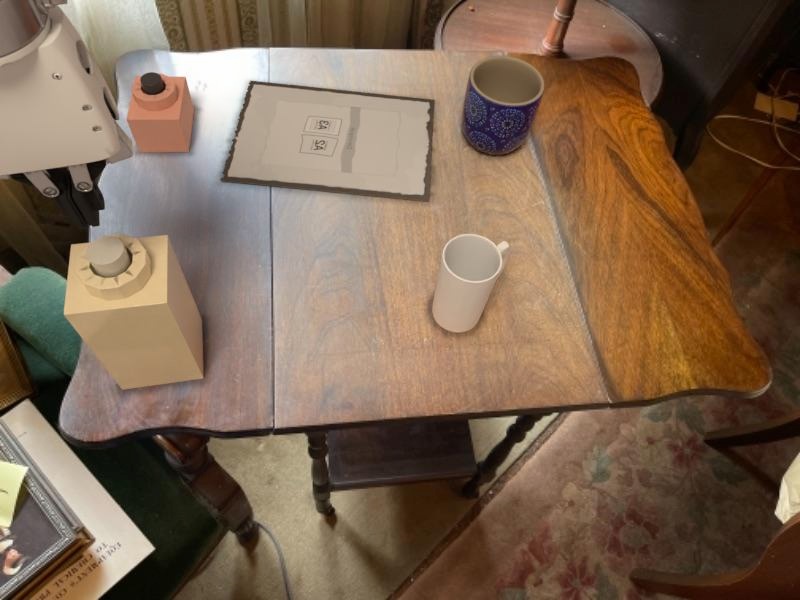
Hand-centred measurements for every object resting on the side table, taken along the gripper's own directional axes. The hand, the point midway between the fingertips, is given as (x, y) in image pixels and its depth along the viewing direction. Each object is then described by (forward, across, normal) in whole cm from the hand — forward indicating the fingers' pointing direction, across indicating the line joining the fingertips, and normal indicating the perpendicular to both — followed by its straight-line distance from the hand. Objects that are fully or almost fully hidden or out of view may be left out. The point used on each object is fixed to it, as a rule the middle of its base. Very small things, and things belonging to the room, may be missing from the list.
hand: (89, 214), depth 50 cm
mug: (+26, -37, +2) cm, 45 cm away
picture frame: (+26, -27, -31) cm, 48 cm away
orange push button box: (+26, -3, -37) cm, 45 cm away
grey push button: (+7, 0, 0) cm, 7 cm away
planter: (+26, -51, -26) cm, 63 cm away
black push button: (+18, -3, -37) cm, 42 cm away
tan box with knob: (+26, +1, 0) cm, 26 cm away
